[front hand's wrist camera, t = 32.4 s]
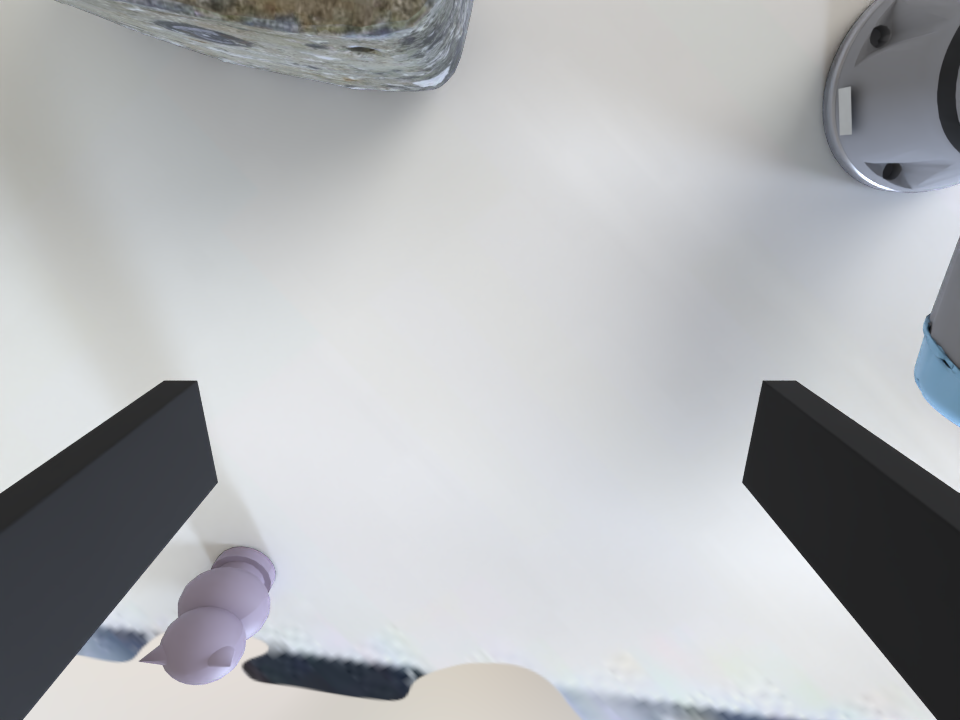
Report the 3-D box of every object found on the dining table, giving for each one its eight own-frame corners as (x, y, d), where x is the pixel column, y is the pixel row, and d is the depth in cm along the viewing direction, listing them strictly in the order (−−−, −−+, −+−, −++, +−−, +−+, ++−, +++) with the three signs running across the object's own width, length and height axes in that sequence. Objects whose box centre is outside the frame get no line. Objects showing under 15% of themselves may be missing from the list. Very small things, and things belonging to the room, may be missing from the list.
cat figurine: (209, 599, 57) (143, 705, 46) (198, 540, 55) (125, 638, 43) (288, 601, 57) (242, 708, 46) (281, 542, 55) (230, 640, 43)
